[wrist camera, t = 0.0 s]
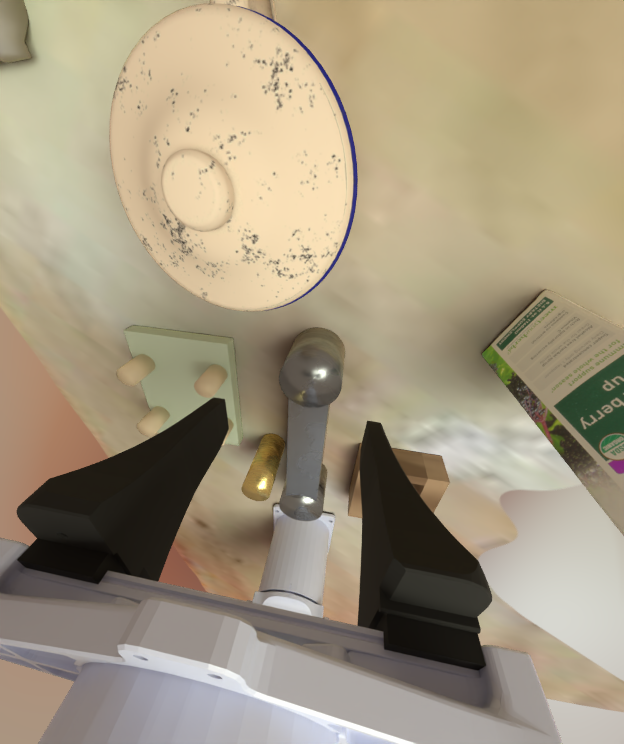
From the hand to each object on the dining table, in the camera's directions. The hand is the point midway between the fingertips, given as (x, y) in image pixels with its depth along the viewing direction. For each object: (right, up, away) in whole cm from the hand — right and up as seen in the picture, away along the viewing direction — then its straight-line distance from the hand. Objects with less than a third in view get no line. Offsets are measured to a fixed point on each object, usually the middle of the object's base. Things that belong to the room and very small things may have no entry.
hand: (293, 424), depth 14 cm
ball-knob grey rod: (+1, -2, +13) cm, 14 cm away
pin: (-3, -5, +16) cm, 17 cm away
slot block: (+9, -8, +16) cm, 20 cm away
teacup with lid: (-1, +15, +3) cm, 15 cm away
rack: (-11, +1, +13) cm, 17 cm away
